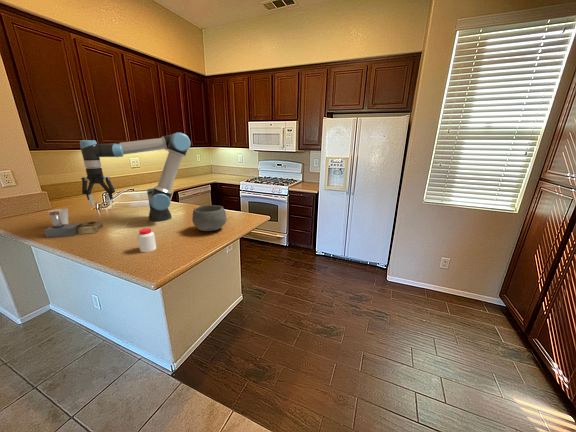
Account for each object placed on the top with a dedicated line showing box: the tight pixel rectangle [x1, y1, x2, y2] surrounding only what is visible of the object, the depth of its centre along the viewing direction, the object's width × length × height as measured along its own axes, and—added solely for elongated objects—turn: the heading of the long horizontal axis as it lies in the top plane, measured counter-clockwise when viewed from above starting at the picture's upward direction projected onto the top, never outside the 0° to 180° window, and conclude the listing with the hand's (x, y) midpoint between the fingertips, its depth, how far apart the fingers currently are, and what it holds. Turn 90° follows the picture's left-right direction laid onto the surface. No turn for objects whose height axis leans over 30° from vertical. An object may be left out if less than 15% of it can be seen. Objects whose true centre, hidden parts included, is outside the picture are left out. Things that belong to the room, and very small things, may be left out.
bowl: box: [191, 204, 228, 232], centre depth 154 cm, size 21×21×15 cm
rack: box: [81, 220, 104, 231], centre depth 153 cm, size 10×8×4 cm
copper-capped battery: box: [48, 211, 62, 228], centre depth 143 cm, size 4×4×14 cm
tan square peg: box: [76, 225, 99, 235], centre depth 147 cm, size 11×4×4 cm, turn 103°
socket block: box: [44, 222, 83, 238], centre depth 145 cm, size 14×10×5 cm
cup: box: [47, 208, 69, 224], centre depth 156 cm, size 10×10×11 cm
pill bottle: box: [136, 227, 157, 253], centre depth 125 cm, size 8×8×11 cm
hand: (101, 204), depth 145 cm, fingers open, 9 cm apart
